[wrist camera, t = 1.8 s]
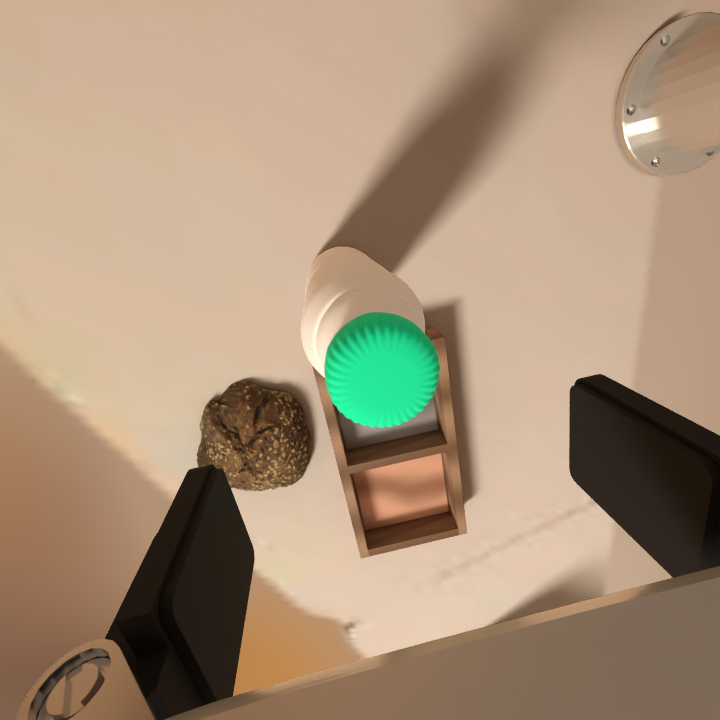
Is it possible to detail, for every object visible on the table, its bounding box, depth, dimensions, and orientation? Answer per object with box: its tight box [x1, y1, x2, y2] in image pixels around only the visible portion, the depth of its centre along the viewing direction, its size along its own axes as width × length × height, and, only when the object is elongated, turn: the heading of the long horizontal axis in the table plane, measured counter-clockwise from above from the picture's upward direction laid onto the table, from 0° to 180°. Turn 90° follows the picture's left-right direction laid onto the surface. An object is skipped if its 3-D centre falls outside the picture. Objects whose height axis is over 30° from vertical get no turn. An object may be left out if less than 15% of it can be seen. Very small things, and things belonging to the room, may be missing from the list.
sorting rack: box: [313, 327, 467, 558], centre depth 43 cm, size 25×13×4 cm, turn 11°
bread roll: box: [197, 381, 311, 491], centre depth 41 cm, size 13×12×5 cm
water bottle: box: [301, 247, 440, 428], centre depth 27 cm, size 7×7×25 cm
